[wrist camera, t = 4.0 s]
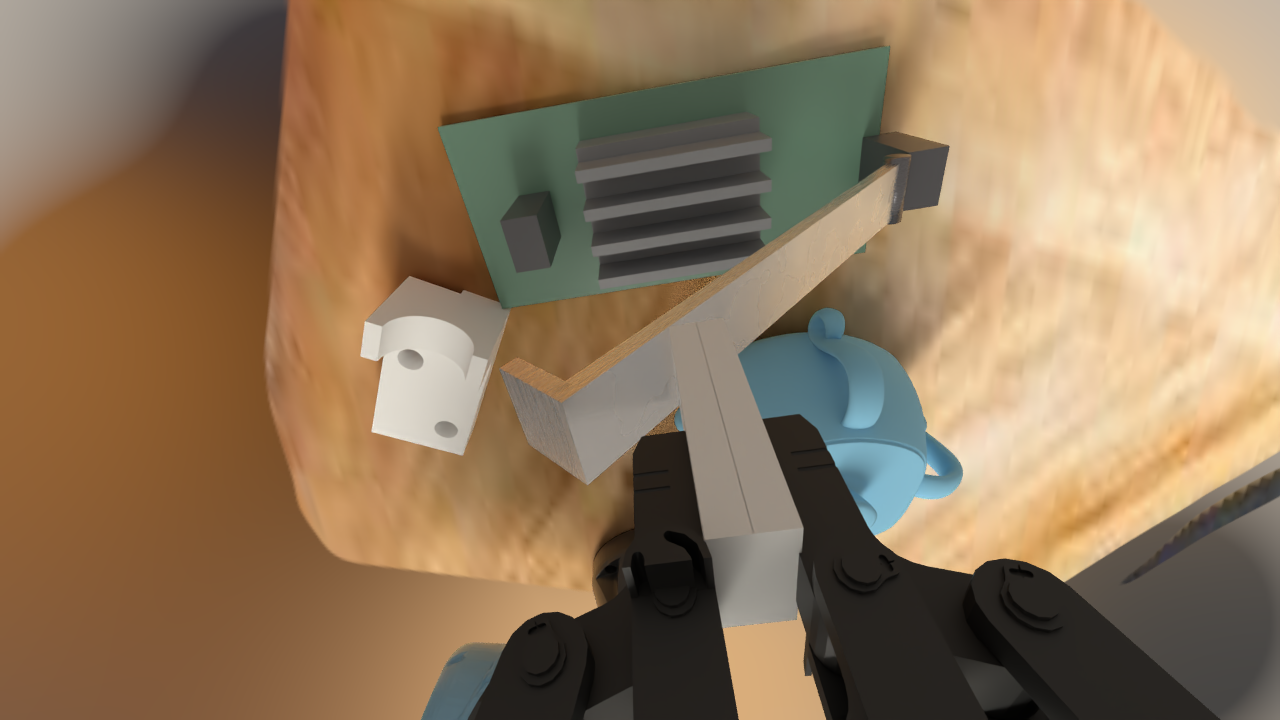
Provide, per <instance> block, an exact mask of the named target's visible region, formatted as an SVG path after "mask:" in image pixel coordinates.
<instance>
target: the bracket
mask: <svg viewBox="0 0 1280 720" xmlns="http://www.w3.org/2000/svg"><path fill="white" fill-rule="evenodd" d="M510 310H511V308H506V309H502V307H501V304H500V302H497V301H494V300H491V299H488V298H485V297H483V296H480V295H477V294H474V293H471V292H468V291H465V290H463V291H462V293H461V294H460V293H457V292H454V291H451V290H449V289H446V288H443V287H440V286H437V285H434V284H431V283H428V282H426V281H423V280H420V279H417V278H414V277H411V276H409V277H408V278H407V279H406V280H405V281H404V282H403V283H402V284H401V285H400V286H399V287H398V288H397V289H396V290H395V291H394V292H393V293H392V294H391V295H390V296H389V297H388V298H387V299H386V300H385V301H384V302H383V303H382V304H381V305H380V306H379V307H378V308H377V309H376V310H375V311H374V312H373V314H372V315H371V316H370V317H369V318H368V319H367V320H366V321H365V325H364V333H363V341H362V349H361V357H364V358H368V359H371V360H374V361H378V360H379V359H380V358H381V357H382V356H384V357H383V363H382V369H381V376H380V382H379V388H378V395H377V401H376V407H375V413H374V420H373V426H372V432H374V433H378V434H382V435H386V436H389V437H393V438H397V439H401V440H405V441H408V442H412V443H416V444H420V445H424V446H428V447H431V448H435V449H439V450H443V451H447V452H450V453H454V454H458V455H462V456H463V454H464V451H465V449H466V446H467V444H468V441H469V439H470V436H471V434H472V431H473V429H474V425H475V422H476V419H477V416H478V413H479V409H480V406H481V403H482V400H483V397H484V393H485V390H486V387H487V384H488V381H489V377H490V374H491V371H492V368H493V365H494V361H495V358H496V355H497V352H498V349H499V346H500V342H501V339H502V336H503V333H504V330H505V326H506V323H507V320H508V317H509V314H510Z"/></svg>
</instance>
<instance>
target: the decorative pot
mask: <svg viewBox="0 0 1280 720" xmlns="http://www.w3.org/2000/svg"><path fill="white" fill-rule="evenodd" d="M844 330H845V319H844V316H843V314H842V313H841V312H840V311H838V310H836V309H833V308H823V309H820V310H818V311H816V312H815V313H814V314H813V316H812V317H811V319H810V321H809V325H808V332H800V333H791V334H784V335H778V336H773V337H769V338H765V339H761V340H757V341H754V342H752V343H750V344H749V345H748V346H747V347H746V348H745V349H743V350H742V351H741V352H740V353H739V354H738V357H739V360H740V362H741V365H742V368H743V370H744V373H745V376H746V378H747V381H748V383H749V386H750V389H751V391H752V394H753V396H754V399H755V402H756V404H757V407H758V410H759V412H760V415H761V417H762V419H765V418H772V417H780V416H787V415H794V414H800V415H802V416H803V417H804V418H805V419H806V420H808V421H809V422H810V423H811V424H812V425H814V426H815V427H816V428H817V429H818V431H819V433H820V435H821V437H822V439H823V440H824V442H825V444H826V446H827V450H828V451H829V452H830V454H831V456H832V458H833V460H834V462H835V466H836V467H838V469H839V471H840V473H841V475H842V477H843V479H844V481H845V483H846V485H847V487H848V489H849V491H850V493H851V494H852V496H853V498H854V500H855V502H856V504H857V506H858V508H859V510H860V512H861V514H862V516H863V518H864V520H865V521H866V523H867V525H868V527H869V529H870V530H871V532H872V533H873V535H877V534H879V533H881V532H884V531H886V530H887V529H889V528H891V527H892V526H893V525H894V524H895V523H896V522H897V521H898V520H899V519H900V518H901V517H902V515H903V514H904V513H905V511H906V510H907V508H908V507H909V505H910V503H911V501H912V500H913V498H914V497H918V498H923V499H939V498H943V497H946V496H948V495H950V494H951V493H952V492H953V491H955V490H956V488H957V487H958V486H959V484H960V482H961V480H962V476H963V469H962V466H961V464H960V462H959V461H958V459H957V458H956V457H955V456H954V455H953V454H952V453H951V452H950V451H949V450H948V449H947V448H946V447H945V446H943V445H942V444H941V443H940V442H939V441H937V440H936V439H935V438H933V437H932V436H931V435H929V434H928V433H927V432H925V430H926V428H927V422H926V419H925V417H924V416H923V412H922V407H921V404H920V401H919V398H918V395H917V393H916V390H915V388H914V386H913V384H912V382H911V380H910V378H909V376H908V375H907V373H906V371H905V370H904V369H903V367H902V366H901V364H900V363H899V362H898V361H897V359H896V358H895V357H894V356H893V355H892V354H890V353H889V352H888V351H886V350H885V349H883V348H881V347H879V346H877V345H875V344H873V343H871V342H868V341H865V340H862V339H859V338H856V337H852V336H848V335H843V334H844ZM674 421H675V425H676V427H677V429H678V430H679V431H683V424H682V418H681V412H680V408H679V409H678V410H677V412H676V414H675V419H674ZM927 463H928V464H929V465H930V466H931V467H932V468H933V469H934V470H935V471H936V472H937V474H938V475H939V476H933V475H926V474H925V470H926V466H927Z"/></svg>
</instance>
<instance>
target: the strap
mask: <svg viewBox="0 0 1280 720" xmlns="http://www.w3.org/2000/svg"><path fill="white" fill-rule="evenodd" d="M910 162H911V155H910V154H892V155H887V156H885V157H884V161H883V166H882V167H881V168H879V169H878V170H876V171H875V172H873V173H872V174H870V175H869V176H867V177H866V178H864V179H863V180H862V181H860V182H859V183H857V184H856V185H854V186H853V187H851V188H850V189H848V190H847V191H845V192H844V193H842V194H841V195H839V196H838V197H836V198H835V199H833V200H832V201H830V202H829V203H828V204H826V205H825V206H823V207H822V208H820V209H819V210H817V211H816V212H814V213H813V214H811V215H810V216H808V217H807V218H805V219H804V220H802V221H801V222H799V223H798V224H797V225H795V226H794V227H792V228H791V229H789V230H788V231H786V232H785V233H783V234H782V235H780V236H779V237H777V238H776V239H774V240H773V241H771V242H770V243H768V244H767V245H765V246H764V247H763V248H761V249H760V250H758V251H757V252H755V253H754V254H752V255H751V256H749V257H748V258H746V259H745V260H743V261H742V262H740V263H739V264H737V265H736V266H734V267H733V268H731V269H730V270H729V271H727V272H726V273H724V274H723V275H721V276H720V277H718V278H717V279H715V280H714V281H712V282H711V283H709V284H708V285H706V286H705V287H703V288H702V289H700V290H699V291H698V292H696V293H695V294H693V295H692V296H690V297H689V298H687V299H686V300H684V301H683V302H681V303H680V304H678V305H677V306H675V307H674V308H672V309H671V310H669V311H668V312H666V313H665V314H664V315H662V316H661V317H659V318H658V319H656V320H655V321H653V322H652V323H650V324H649V325H647V326H646V327H644V328H643V329H641V330H640V331H638V332H637V333H635V334H634V335H632V336H631V337H630V338H628V339H627V340H625V341H624V342H622V343H621V344H619V345H618V346H616V347H615V348H613V349H612V350H610V351H609V352H607V353H606V354H604V355H603V356H601V357H600V358H599V359H597V360H596V361H594V362H593V363H591V364H590V365H588V366H587V367H585V368H584V369H582V370H581V371H579V372H578V373H576V374H575V375H573V376H572V377H570V378H569V379H567V380H566V381H564V380H562V379H560V378H558V377H556V376H554V375H552V374H550V373H548V372H546V371H544V370H542V369H540V368H538V367H536V366H534V365H532V364H530V363H528V362H526V361H524V360H522V359H520V358H518V357H517V358H515V359H513V360H511V361H510V362H508V363H506V364H505V365H503V366H501V367H500V368H499V370H500V372H501V375H502V377H503V380H504V382H505V385H506V387H507V390H508V393H509V395H510V398H511V400H512V403H513V405H514V408H515V410H516V413H517V415H518V418H519V421H520V423H521V426H522V428H523V431H524V433H525V436H526V438H527V441H528V443H529V445H531V446H532V447H533V448H535V449H536V450H538V451H539V452H541V453H542V454H544V455H545V456H546V457H548V458H549V459H551V460H552V461H554V462H555V463H556V464H558V465H559V466H561V467H562V468H564V469H565V470H566V471H568V472H569V473H571V474H572V475H574V476H575V477H576V478H578V479H579V480H581V481H582V482H584V483H585V484H587V485H589V484H590V483H591V482H592V481H593V480H594V479H596V478H597V477H598V476H599V475H600V474H601V473H602V472H604V471H605V470H606V469H607V468H608V467H609V466H610V465H612V464H613V463H614V462H615V461H616V460H617V459H618V458H620V457H621V456H622V455H623V454H624V453H625V452H626V451H628V450H629V449H630V448H631V447H632V446H633V445H634V444H636V443H637V442H638V441H639V440H640V439H641V437H642V436H645V435H646V434H647V433H648V432H649V431H651V430H652V429H653V428H654V427H655V426H656V425H657V424H659V423H660V422H661V421H662V420H663V419H664V418H665V417H667V416H668V415H669V414H670V413H671V412H672V411H673V410H675V409H676V408H677V407H678V406H679V399H678V392H677V384H676V377H675V370H674V362H673V355H672V347H671V340H670V333H669V326H674V325H681V324H688V323H694V322H701V321H708V320H714V319H721V318H724V320H725V323H726V326H727V328H728V331H729V334H730V336H731V339H732V341H733V344H734V347H735V349H736V352H737V355H738V354H739V353H740V352H741V351H742V350H743V349H745V348H746V347H747V346H748V345H749V344H750V343H751V342H753V341H754V340H755V339H756V338H757V337H758V336H759V335H761V334H762V333H763V332H764V331H765V330H766V329H767V328H769V327H770V326H771V325H772V324H773V323H774V322H776V321H777V320H778V319H779V318H780V317H781V316H782V315H784V314H785V313H786V312H787V311H788V310H789V309H790V308H792V307H793V306H794V305H795V304H796V303H797V302H798V301H800V300H801V299H802V298H803V297H804V296H805V295H806V294H808V293H809V292H810V291H811V290H812V289H813V288H814V287H816V286H817V285H818V284H819V283H820V282H821V281H823V280H824V279H825V278H826V277H827V276H828V275H829V274H831V273H832V272H833V271H834V270H835V269H836V268H837V267H839V266H840V265H841V264H842V263H843V262H844V261H845V260H847V259H848V258H849V257H850V256H851V255H852V254H853V253H855V252H856V251H857V250H858V249H859V248H860V247H861V246H863V245H864V244H865V243H866V242H867V241H868V240H870V239H871V238H872V237H873V236H874V235H875V234H876V233H878V232H879V231H880V230H881V229H882V228H883V227H884V226H886V225H887V224H896V223H899V222H901V218H902V212H903V206H904V200H905V193H906V187H907V181H908V175H909V168H910Z"/></svg>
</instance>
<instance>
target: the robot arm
mask: <svg viewBox="0 0 1280 720" xmlns="http://www.w3.org/2000/svg"><path fill="white" fill-rule="evenodd" d="M669 333H670V340H671V347H672V355H673V362H674V370H675V377H676V384H677V392H678V399H679V406H680V412H681V418H682V424H683V431H679V432H672V433H665V434H657V435H650V436H642V437H641V439H640V441H639V443H638V445H637V447H636V449H635V451H634V453H633V476H634V478H633V485H634V524H635V529H634V530H631V531H628V532H625V533H623V534H621V535H619V536H617V537H615V538H613V539H612V540H610V541H609V542H608V543H606V544H605V545H604V546H603V547H602V548H601V549H600V550H599V552H598V553H597V555H596V557H595V559H594V563H593V577H592V586H593V592H594V595H595V599H596V603H597V606H598V608H596V609H594V610H592V611H589V612H587V613H585V614H583V615H581V616H579V617H577V618H575V619H574V618H573V617H571V616H568V615H565V614H563V613H560V612H551V613H542V614H540V615H537V616H535V617H533V618H531V619H529V620H527V621H526V622H525V623H524V624H522V626H520V627H519V628H518V629H517V630H516V631H515V632H514V633H513V634H512V636H511V637H510V639H509V641H508V642H507V644H498V643H468V644H466V645H463V646H461V647H460V648H458V649H457V650H456V651H455V652H454V653H453V654H452V656H451V657H450V658H449V660H448V661H447V663H446V665H445V667H444V668H443V670H442V672H441V675H440V677H439V679H438V681H437V683H436V686H435V688H434V690H433V692H432V694H431V697H430V699H429V701H428V704H427V706H426V709H425V711H424V713H423V716H422V719H421V720H739V719H738V713H737V707H736V702H735V696H734V690H733V685H732V679H731V674H730V668H729V662H728V657H727V651H726V645H725V640H724V634H723V628H726V627H735V626H744V625H753V624H762V623H771V622H780V621H789V620H797V611H798V609H799V612H800V615H801V618H802V621H803V625H804V628H805V631H806V642H805V652H804V670H805V676H811V675H812V674H813V677H814V680H815V684H816V687H817V690H818V693H819V697H820V700H821V703H822V706H823V710H824V713H825V717H826V720H1220V719H1219V718H1218V717H1216V715H1214V714H1213V713H1212V712H1211V711H1210V710H1209V709H1208V708H1206V707H1205V706H1204V705H1203V704H1202V703H1201V702H1200V701H1199V700H1198V699H1196V698H1195V697H1194V696H1193V695H1192V694H1190V692H1189V691H1187V690H1186V689H1185V688H1184V687H1183V686H1182V685H1181V684H1179V683H1178V682H1177V681H1176V680H1175V679H1174V678H1173V677H1171V676H1170V675H1169V674H1168V673H1167V672H1166V671H1165V670H1164V669H1162V668H1161V667H1160V666H1159V665H1158V664H1157V663H1156V662H1155V661H1153V660H1152V659H1151V658H1150V657H1149V656H1148V655H1147V654H1146V653H1144V652H1143V651H1142V650H1141V649H1140V648H1139V647H1138V646H1136V645H1135V644H1134V643H1133V642H1132V641H1131V640H1130V639H1129V638H1127V637H1126V636H1125V635H1124V634H1123V633H1122V632H1121V631H1119V630H1118V629H1117V628H1116V627H1115V626H1114V625H1113V624H1112V623H1110V622H1109V621H1108V620H1107V619H1106V618H1105V617H1104V616H1102V615H1101V614H1100V613H1099V612H1098V611H1097V610H1096V609H1095V608H1093V607H1092V606H1091V605H1090V604H1089V603H1088V602H1087V601H1086V600H1084V599H1083V598H1082V597H1081V596H1080V595H1079V594H1078V593H1076V592H1075V591H1074V590H1073V589H1072V588H1071V587H1070V586H1068V585H1067V584H1065V583H1064V582H1063V581H1061V580H1060V579H1058V578H1057V577H1055V576H1054V575H1053V574H1051V573H1050V572H1048V571H1046V570H1043V569H1041V568H1039V567H1036V566H1034V565H1032V564H1029V563H1027V562H1023V561H1017V560H1011V559H998V560H992V561H987V562H985V563H984V564H983V565H981V566H980V567H979V568H977V569H976V570H975V572H974V574H973V575H972V574H967V573H961V572H956V571H950V570H945V569H939V568H933V567H928V566H924V565H920V564H917V563H913V562H911V561H909V560H906V559H904V558H902V557H900V556H898V555H896V554H895V553H894V552H893V551H891V550H890V549H888V548H887V547H886V546H884V545H883V544H882V543H881V542H880V541H879V540H878V539H877V538H876V537H875V536H874V535H873V533H872V532H871V530H870V529H869V527H868V525H867V523H866V521H865V520H864V518H863V516H862V514H861V512H860V510H859V508H858V506H857V504H856V502H855V500H854V498H853V496H852V494H851V493H850V491H849V489H848V487H847V485H846V483H845V481H844V479H843V477H842V475H841V473H840V471H839V469H838V467H836V466H835V462H834V460H833V458H832V456H831V454H830V452H829V451H828V450H827V446H826V444H825V442H824V440H823V439H822V437H821V435H820V433H819V431H818V429H817V428H816V427H815V426H814V425H812V424H811V423H810V422H809V421H808V420H806V419H805V418H804V417H803V416H802V415H800V414H794V415H787V416H780V417H772V418H765V419H762V417H761V415H760V412H759V410H758V407H757V404H756V402H755V399H754V396H753V394H752V391H751V389H750V386H749V383H748V381H747V378H746V376H745V373H744V370H743V368H742V365H741V362H740V360H739V357H738V355H737V352H736V349H735V347H734V344H733V341H732V339H731V336H730V334H729V331H728V328H727V326H726V323H725V320H724V318H721V319H714V320H708V321H701V322H694V323H688V324H681V325H674V326H669Z"/></svg>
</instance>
